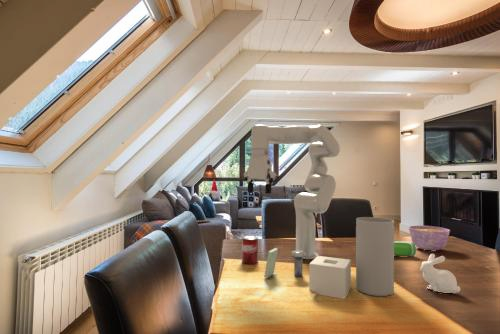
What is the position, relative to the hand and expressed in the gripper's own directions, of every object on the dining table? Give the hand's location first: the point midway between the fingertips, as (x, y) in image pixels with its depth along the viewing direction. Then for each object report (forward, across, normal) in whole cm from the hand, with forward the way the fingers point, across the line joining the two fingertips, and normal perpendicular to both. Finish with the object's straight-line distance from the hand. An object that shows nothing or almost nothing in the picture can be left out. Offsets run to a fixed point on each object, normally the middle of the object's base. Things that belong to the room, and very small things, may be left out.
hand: (259, 192), depth 140 cm
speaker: (+32, -39, -62) cm, 80 cm away
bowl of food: (+32, -50, -89) cm, 107 cm away
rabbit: (+32, -64, -22) cm, 75 cm away
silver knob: (+32, -20, 0) cm, 38 cm away
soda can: (+33, +6, -2) cm, 33 cm away
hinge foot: (+33, -13, +8) cm, 36 cm away
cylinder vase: (+33, -47, -6) cm, 58 cm away
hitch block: (+32, -35, +4) cm, 48 cm away
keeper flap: (+32, -12, +8) cm, 35 cm away
